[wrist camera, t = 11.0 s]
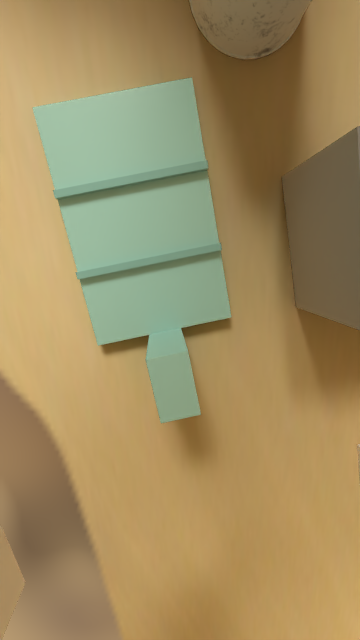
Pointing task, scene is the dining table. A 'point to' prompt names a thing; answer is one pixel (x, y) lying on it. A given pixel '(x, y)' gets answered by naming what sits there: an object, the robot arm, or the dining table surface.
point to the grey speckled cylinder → (248, 24)
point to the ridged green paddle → (140, 223)
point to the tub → (326, 230)
